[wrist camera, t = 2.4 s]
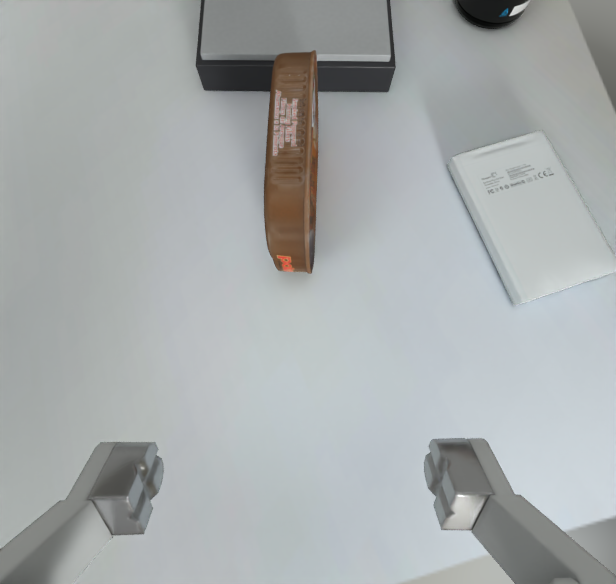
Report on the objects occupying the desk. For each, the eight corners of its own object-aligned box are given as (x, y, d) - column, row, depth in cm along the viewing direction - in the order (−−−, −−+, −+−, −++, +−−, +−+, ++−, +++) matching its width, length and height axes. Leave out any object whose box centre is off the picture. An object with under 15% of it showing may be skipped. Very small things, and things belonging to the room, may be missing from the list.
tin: (313, 287, 26) (318, 246, 18) (271, 285, 26) (256, 243, 18) (319, 116, 29) (326, 16, 21) (282, 115, 29) (274, 14, 21)
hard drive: (511, 307, 26) (444, 166, 28) (607, 274, 26) (533, 140, 29) (524, 302, 24) (453, 154, 27) (626, 268, 25) (546, 127, 28)
